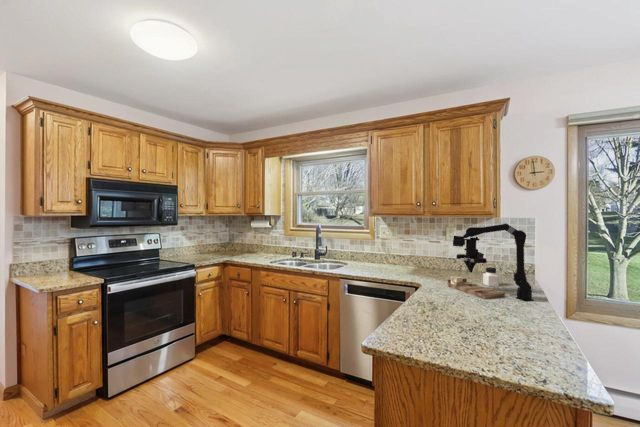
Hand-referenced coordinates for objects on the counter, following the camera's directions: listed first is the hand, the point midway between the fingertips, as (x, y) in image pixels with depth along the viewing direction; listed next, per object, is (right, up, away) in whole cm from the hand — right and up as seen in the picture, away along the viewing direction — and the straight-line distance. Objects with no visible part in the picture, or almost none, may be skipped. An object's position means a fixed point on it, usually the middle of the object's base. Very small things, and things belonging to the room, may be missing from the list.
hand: (470, 272), depth 186 cm
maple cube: (-4, -10, +9) cm, 14 cm away
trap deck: (+3, -13, +2) cm, 13 cm away
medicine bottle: (+24, -13, +19) cm, 33 cm away
